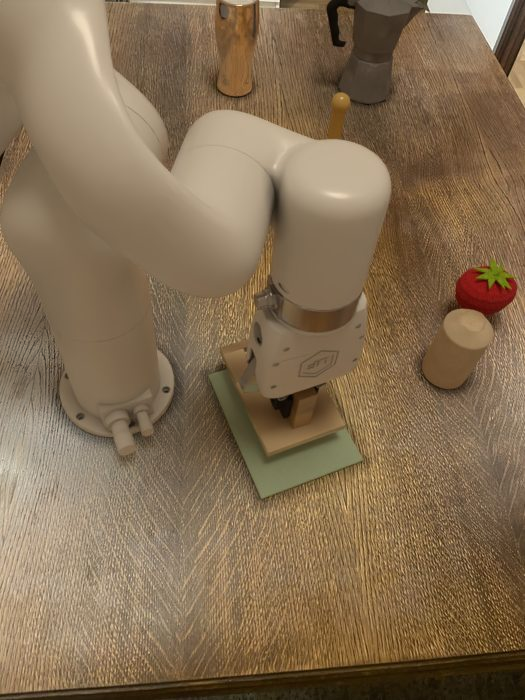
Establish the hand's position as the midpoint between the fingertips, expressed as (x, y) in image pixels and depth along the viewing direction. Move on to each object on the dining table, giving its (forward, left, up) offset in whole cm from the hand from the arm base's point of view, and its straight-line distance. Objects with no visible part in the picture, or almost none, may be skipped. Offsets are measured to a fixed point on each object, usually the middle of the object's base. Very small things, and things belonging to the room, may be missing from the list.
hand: (292, 401), depth 64 cm
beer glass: (+62, -18, -4) cm, 65 cm away
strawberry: (+6, -29, -5) cm, 30 cm away
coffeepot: (+56, -39, -5) cm, 68 cm away
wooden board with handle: (+3, 0, -2) cm, 3 cm away
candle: (0, -21, -5) cm, 21 cm away
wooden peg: (+41, -26, -4) cm, 48 cm away
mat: (+1, 0, -4) cm, 5 cm away
